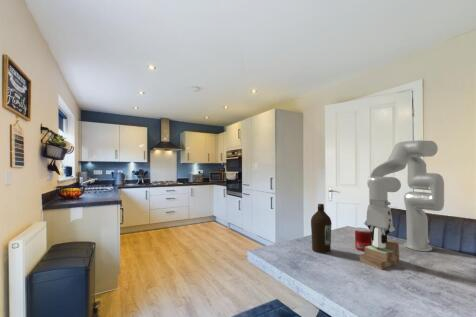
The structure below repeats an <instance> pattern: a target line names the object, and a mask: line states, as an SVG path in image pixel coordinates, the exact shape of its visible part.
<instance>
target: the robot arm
mask: <svg viewBox="0 0 476 317" xmlns="http://www.w3.org/2000/svg"><path fill="white" fill-rule="evenodd" d="M438 149H439V148H438V145H437V143H436V142H435V141H433V140H422V139H420V140H419V139H418V140H407V141H406V140H405V141H400V142H397V143H396V144H395V145H394V147H393V149H392V151H391V153H390V155H389V156H388V159H387V160H385V161H384V162H382V163H381V164H379V165H378V166H375V168H373V169H372V171H371V173H370V175H369V176H368V179H367V188H368V193H369V194H368V196H369V197H368V199H369V200H368V202H369V204H368V206H367V210H366V220H365V222H364V223H363V224H364V225H365V226H366V227H367V229H370V232H371V238H372V242H373V241H374V228H375V227H379V228H382V234H383V235H381V242H382V243H383V244H384V243H386V242H387V240H388V235H389V234H390V233H393V232H394V231H395V230H396V228H395V227H394V225H393V215H392V211H391V207H390V206H391V204H392V203H391V202H389V200H388V193H397V192H399V191H400V190H401V187H402V182H401V181H400V179H399V178H397V177H393V176H387V175H391V174H394V173H397V172H401V171H403V170H405V169H406V167H407V186H408V187H409V188H410V189H414V190H421V191H407V192H406V193H404V196H403V202H404V206H405V210H406V211H405V213H406V214H405V216H406V218H405V220H406V241H405V242H403V246H404V247H405V248H407V249H410V250H413V251H418V252H419V251H420V252H432V251H433V248H432V247H431V246H430V245H429V243H430V239H429V224H428V222H429V221H428V220H429V219H428V218H429V217H428V216H427V213H426V212H425V211H424V210H427V211H433V212H439V211H442V210H443V209H444V207H445V181H444V180H445V179H444V178H443V176H442V175H441V174H440V173H436V172H427V163H426V161H425V160H423V158H425V157H428V158H429V157H434V156H436V154H437V152H438ZM422 157H423V158H422ZM422 190H424V191H430V192H424V191H422ZM388 228H389V229H388Z"/></svg>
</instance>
